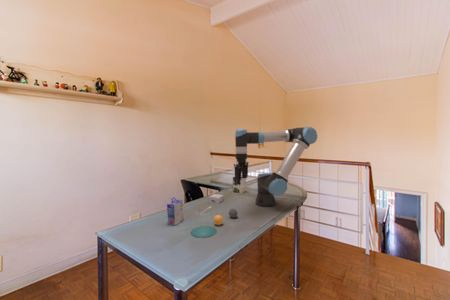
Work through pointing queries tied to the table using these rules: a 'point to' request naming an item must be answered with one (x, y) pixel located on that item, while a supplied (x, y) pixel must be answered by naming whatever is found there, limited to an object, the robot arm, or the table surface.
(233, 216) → the dark grey ball
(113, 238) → the table surface
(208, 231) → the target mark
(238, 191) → the coffee can
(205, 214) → the crossbow
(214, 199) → the charger
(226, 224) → the table surface
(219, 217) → the object ball
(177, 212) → the ink cartridge box
